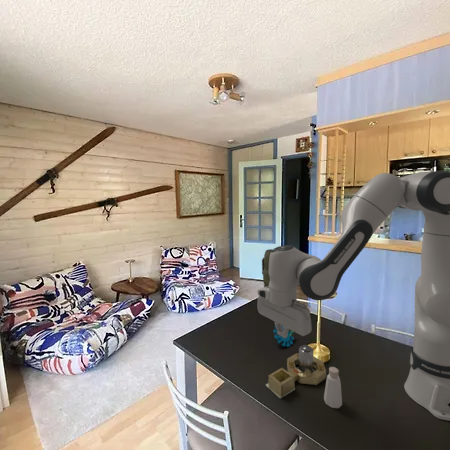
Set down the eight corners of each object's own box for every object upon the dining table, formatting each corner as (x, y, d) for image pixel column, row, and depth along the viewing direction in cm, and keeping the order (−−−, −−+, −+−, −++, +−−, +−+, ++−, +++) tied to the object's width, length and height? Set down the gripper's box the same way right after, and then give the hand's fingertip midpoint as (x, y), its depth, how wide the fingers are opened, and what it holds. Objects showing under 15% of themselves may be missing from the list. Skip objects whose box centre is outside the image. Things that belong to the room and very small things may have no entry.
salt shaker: (331, 410, 77) (332, 377, 76) (320, 397, 82) (320, 365, 81) (346, 406, 79) (347, 373, 77) (334, 393, 84) (335, 362, 82)
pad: (280, 377, 92) (280, 376, 92) (295, 389, 86) (295, 388, 86) (265, 385, 88) (265, 384, 88) (280, 398, 82) (280, 398, 82)
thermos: (266, 306, 150) (266, 247, 146) (284, 311, 142) (284, 250, 138) (257, 311, 143) (257, 250, 139) (276, 317, 136) (276, 253, 131)
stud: (316, 369, 95) (317, 344, 94) (314, 381, 89) (314, 355, 88) (298, 364, 98) (298, 340, 97) (294, 375, 92) (294, 350, 91)
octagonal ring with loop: (302, 356, 103) (302, 346, 102) (332, 374, 92) (332, 363, 92) (260, 380, 90) (260, 369, 89) (289, 404, 79) (290, 392, 79)
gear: (281, 348, 106) (271, 324, 112) (273, 352, 110) (264, 329, 116) (299, 343, 112) (290, 321, 118) (291, 347, 116) (282, 325, 121)
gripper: (316, 303, 76) (315, 347, 77) (267, 284, 92) (267, 321, 94) (303, 309, 72) (302, 355, 74) (254, 288, 89) (254, 326, 90)
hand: (282, 335), depth 84 cm, fingers closed
